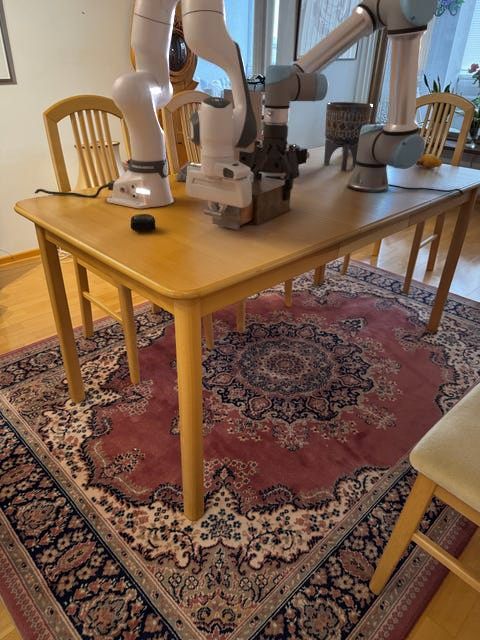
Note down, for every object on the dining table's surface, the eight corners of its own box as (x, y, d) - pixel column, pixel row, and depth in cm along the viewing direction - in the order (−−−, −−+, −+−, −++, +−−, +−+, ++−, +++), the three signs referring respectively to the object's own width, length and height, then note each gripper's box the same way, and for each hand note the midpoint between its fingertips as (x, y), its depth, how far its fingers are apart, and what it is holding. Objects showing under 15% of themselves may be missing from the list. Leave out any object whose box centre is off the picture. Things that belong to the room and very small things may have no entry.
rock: (201, 174, 189) (200, 158, 186) (213, 179, 184) (213, 162, 180) (174, 179, 182) (173, 162, 178) (186, 184, 176) (186, 167, 173)
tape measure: (131, 234, 126) (129, 221, 124) (132, 226, 132) (131, 213, 130) (155, 233, 127) (154, 220, 125) (156, 225, 133) (155, 213, 131)
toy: (416, 161, 206) (411, 154, 219) (419, 175, 209) (413, 167, 222) (442, 153, 203) (435, 147, 216) (444, 167, 206) (437, 160, 219)
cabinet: (256, 225, 136) (257, 194, 131) (228, 218, 140) (229, 189, 136) (289, 209, 150) (291, 181, 145) (263, 204, 155) (264, 177, 150)
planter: (313, 167, 208) (319, 103, 195) (331, 160, 222) (338, 101, 209) (353, 173, 199) (362, 107, 185) (369, 166, 213) (379, 104, 199)
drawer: (225, 235, 125) (225, 209, 121) (199, 228, 129) (199, 203, 125) (271, 213, 142) (273, 191, 139) (247, 208, 147) (248, 186, 143)
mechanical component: (240, 120, 182) (283, 115, 202) (239, 174, 192) (280, 164, 212) (283, 126, 170) (325, 120, 190) (280, 183, 180) (320, 171, 200)
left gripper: (179, 163, 122) (181, 213, 129) (242, 173, 112) (241, 227, 119) (194, 159, 127) (195, 208, 134) (255, 169, 117) (254, 221, 124)
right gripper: (238, 121, 140) (236, 193, 151) (303, 128, 129) (297, 205, 140) (251, 119, 145) (249, 188, 156) (315, 125, 134) (308, 200, 145)
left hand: (217, 217), depth 127 cm, fingers closed, pressing on drawer
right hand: (271, 196), depth 148 cm, fingers closed on cabinet, 10 cm apart
